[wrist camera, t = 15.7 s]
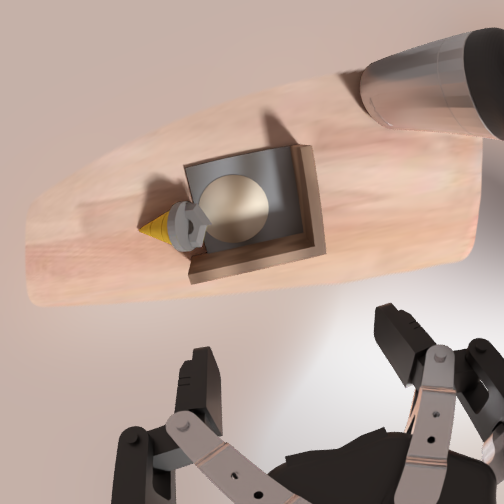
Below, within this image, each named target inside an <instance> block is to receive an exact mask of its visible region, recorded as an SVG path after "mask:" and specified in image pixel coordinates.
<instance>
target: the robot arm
mask: <svg viewBox="0 0 504 504" xmlns="http://www.w3.org/2000/svg"><path fill="white" fill-rule="evenodd" d="M360 94H361V98H362V102H363V104H364V106H365V108H366V110H367V111H368V113H369V114H370V116H371V117H372V118H373V119H374V120H375V121H376V122H378V123H379V124H380V125H382V126H384V127H386V128H389V129H395V130H415V131H430V132H442V133H452V134H461V135H469V136H476V137H484V138H491V139H497V140H502V141H504V30H503V29H499V28H485V29H481V30H476V31H472V32H467V33H463V34H459V35H455V36H452V37H448V38H445V39H441V40H437V41H434V42H430V43H427V44H424V45H421V46H418V47H415V48H412V49H409V50H406V51H403V52H400V53H397V54H394V55H391V56H389V57H386V58H383V59H381V60H378V61H376V62H374V63H371V64H370V65H369V66H368V67H366V69H365V70H364V72H363V74H362V76H361V80H360ZM374 337H375V340H376V342H377V344H378V345H379V347H380V348H381V350H382V352H383V353H384V355H385V356H386V358H387V359H388V361H389V362H390V364H391V365H392V367H393V368H394V370H395V372H396V373H397V375H398V376H399V378H400V380H401V381H402V383H403V385H404V386H405V388H407V387H409V386H411V385H414V386H415V388H416V389H415V392H414V396H413V401H412V405H411V410H410V414H409V418H408V422H407V425H406V428H405V431H404V433H402V432H386V430H385V428H384V427H383V428H380V429H378V430H375V431H373V432H370V433H367V434H364V435H361V436H360V437H358V438H357V439H355V440H353V441H351V442H350V443H348V444H346V445H344V446H343V447H341V448H339V449H333V450H315V451H307V452H303V453H299V454H294V455H290V456H286V457H285V459H286V463H283V464H281V465H279V466H278V467H276V468H274V469H273V470H272V471H270V472H269V473H268V474H266V473H264V472H263V471H262V470H261V469H259V468H258V467H257V466H256V465H254V464H253V463H252V462H251V461H249V460H248V459H247V458H246V457H244V456H243V455H242V454H241V453H240V452H238V451H237V450H236V449H235V448H234V447H233V446H231V445H230V444H229V443H227V442H226V443H225V442H224V441H222V440H221V439H220V438H219V437H218V436H222V435H223V432H222V407H221V406H222V405H221V377H220V372H219V368H218V366H217V363H216V361H215V358H214V356H213V353H212V350H211V348H210V347H202V348H196V349H194V350H193V358H192V360H188V361H185V362H184V363H183V365H182V367H181V368H180V372H179V380H178V388H177V396H176V404H175V405H176V406H175V412H174V414H173V415H172V416H171V417H170V418H169V419H168V420H167V422H166V424H165V425H164V426H161V427H159V428H156V429H153V430H150V431H146V430H145V429H144V428H142V427H138V426H134V427H130V428H128V429H126V430H125V431H123V432H122V434H121V436H120V438H119V442H118V449H117V457H116V463H115V471H114V480H113V490H112V500H111V504H176V486H175V485H176V484H175V469H178V468H181V467H184V466H187V465H190V464H193V463H194V464H195V465H196V466H197V467H198V468H199V469H200V470H201V471H202V472H203V473H204V474H205V475H206V476H207V477H208V478H209V480H210V481H212V483H214V484H215V485H216V486H217V487H218V488H219V489H220V490H221V491H222V492H223V493H224V494H225V495H226V496H227V497H228V498H229V499H231V500H232V501H233V502H234V503H235V504H496V487H497V484H499V483H500V482H502V481H503V480H504V358H503V357H502V356H501V355H500V353H499V352H498V351H497V350H496V349H495V348H494V346H493V345H492V344H491V343H490V342H489V341H487V340H486V339H482V338H476V339H473V340H472V341H471V342H470V343H469V346H468V348H467V349H462V350H456V351H452V349H451V348H449V347H448V346H445V345H437V344H436V343H435V342H434V341H433V339H432V338H431V337H430V336H429V335H428V334H427V332H426V331H425V330H424V329H423V328H422V327H421V326H420V324H419V323H418V322H416V320H415V319H414V318H413V317H412V315H411V314H409V313H407V312H405V311H404V310H399V311H398V310H397V309H396V308H395V306H394V305H393V304H392V303H388V304H385V305H382V306H378V307H376V310H375V322H374ZM480 380H481V381H482V382H483V383H482V382H481V381H480ZM483 384H484V385H485V386H486V388H487V389H488V391H487V389H486V388H485V386H484V385H483ZM456 396H457V397H458V399H459V400H460V402H461V404H462V406H463V407H464V409H465V411H466V412H467V414H468V416H469V417H470V419H471V421H472V422H473V424H474V426H475V428H476V430H477V431H478V433H479V435H480V437H481V439H482V440H483V442H484V444H483V447H482V460H483V461H480V460H477V459H474V458H471V457H468V456H465V455H462V454H459V453H457V452H454V451H451V450H449V445H450V439H451V433H452V426H453V419H454V410H455V401H456Z"/></svg>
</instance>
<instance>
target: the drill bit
mask: <svg viewBox="0 0 504 504" xmlns="http://www.w3.org/2000/svg"><path fill="white" fill-rule="evenodd" d="M211 224H212V223H211V222H210V220H209V219H208V218H207V216H206V215H205V213H204V212H203V210H202V209H201V208H200V206H199V205H198V203H195V204H192V203H191V202H188V201H184V202H177V203H175V204H174V205H173V206H172V207H171V209H170V211H168V212H166V213H165V214H163V215H161V216H160V217H158V218H156V219H155V220H153V221H151V222H150V223H148V224H147V225H145V226H143V227H142V228H140V229H139V232H141V233H144V234H146V235H149V236H152V237H154V238H156V239H159V240H161V241H164V242H166V243H169V244H171V245H173V247H174V248H175V249H176V250H178V251H182V252H184V251H192V250H194V249H195V247H202V244H203V240H204V236H205V232H206V229H207V225H211Z"/></svg>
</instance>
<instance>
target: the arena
mask: <svg viewBox="0 0 504 504" xmlns="http://www.w3.org/2000/svg"><path fill="white" fill-rule="evenodd" d="M185 169H186V173H187V178H188V182H189V186H190V190H191V193H192V197H193V201H194V204H195V203H198V205H199V206H200V208H201V209H202V210H203V212H204V213H205V215H206V216H207V218H208V219H209V220H210V222H211V223H212V224H211V225H207V229H206V232H205V236H204V243H205V246H206V250H207V253H205V254H200V255H196V256H192V259H191V264H190V268H189V273H188V276H189V279H190V282H191V285H192V284H197V283H201V282H206V281H210V280H215V279H220V278H224V277H229V276H233V275H238V274H242V273H247V272H251V271H256V270H260V269H264V268H269V267H273V266H277V265H282V264H286V263H290V262H295V261H299V260H303V259H308V258H312V257H316V256H320V255H324V254H326V245H325V235H324V226H323V218H322V210H321V202H320V194H319V187H318V180H317V173H316V167H315V160H314V154H313V148H312V146H310V145H300V144H298V145H292V146H286V147H280V148H274V149H269V150H263V151H258V152H253V153H248V154H243V155H238V156H234V157H229V158H225V159H220V160H216V161H212V162H207V163H203V164H199V165H195V166H191V167H187V168H185Z"/></svg>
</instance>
